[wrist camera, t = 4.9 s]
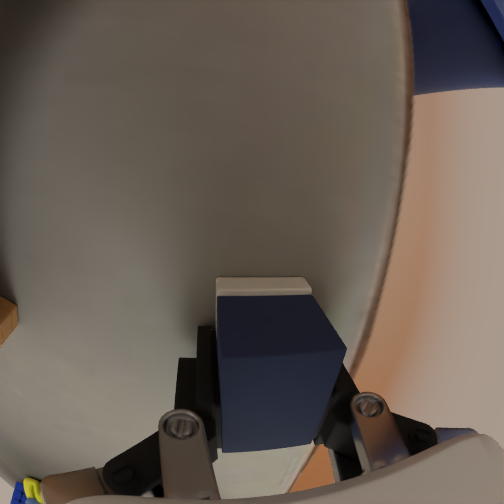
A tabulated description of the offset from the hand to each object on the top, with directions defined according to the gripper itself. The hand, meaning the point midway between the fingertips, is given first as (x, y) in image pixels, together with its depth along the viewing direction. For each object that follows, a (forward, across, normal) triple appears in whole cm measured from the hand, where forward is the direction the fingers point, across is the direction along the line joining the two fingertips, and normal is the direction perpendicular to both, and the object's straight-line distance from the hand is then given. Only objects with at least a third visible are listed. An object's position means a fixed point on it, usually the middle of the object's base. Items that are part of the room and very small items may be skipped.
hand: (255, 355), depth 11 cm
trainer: (0, 0, 0) cm, 0 cm away
